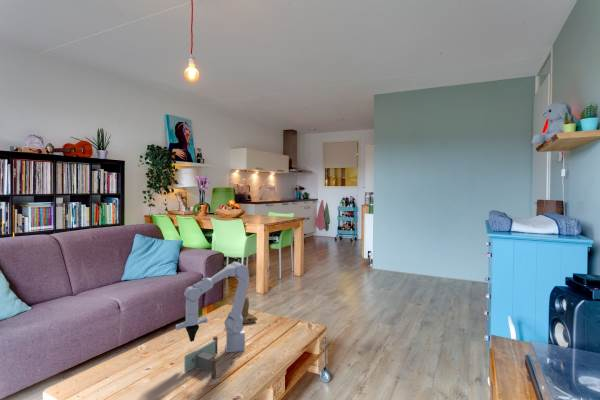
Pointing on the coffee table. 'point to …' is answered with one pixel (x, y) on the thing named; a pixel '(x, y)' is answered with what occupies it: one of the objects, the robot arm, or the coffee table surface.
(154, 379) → the coffee table surface
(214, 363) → the door frame
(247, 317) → the brown boot
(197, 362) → the block
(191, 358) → the door
